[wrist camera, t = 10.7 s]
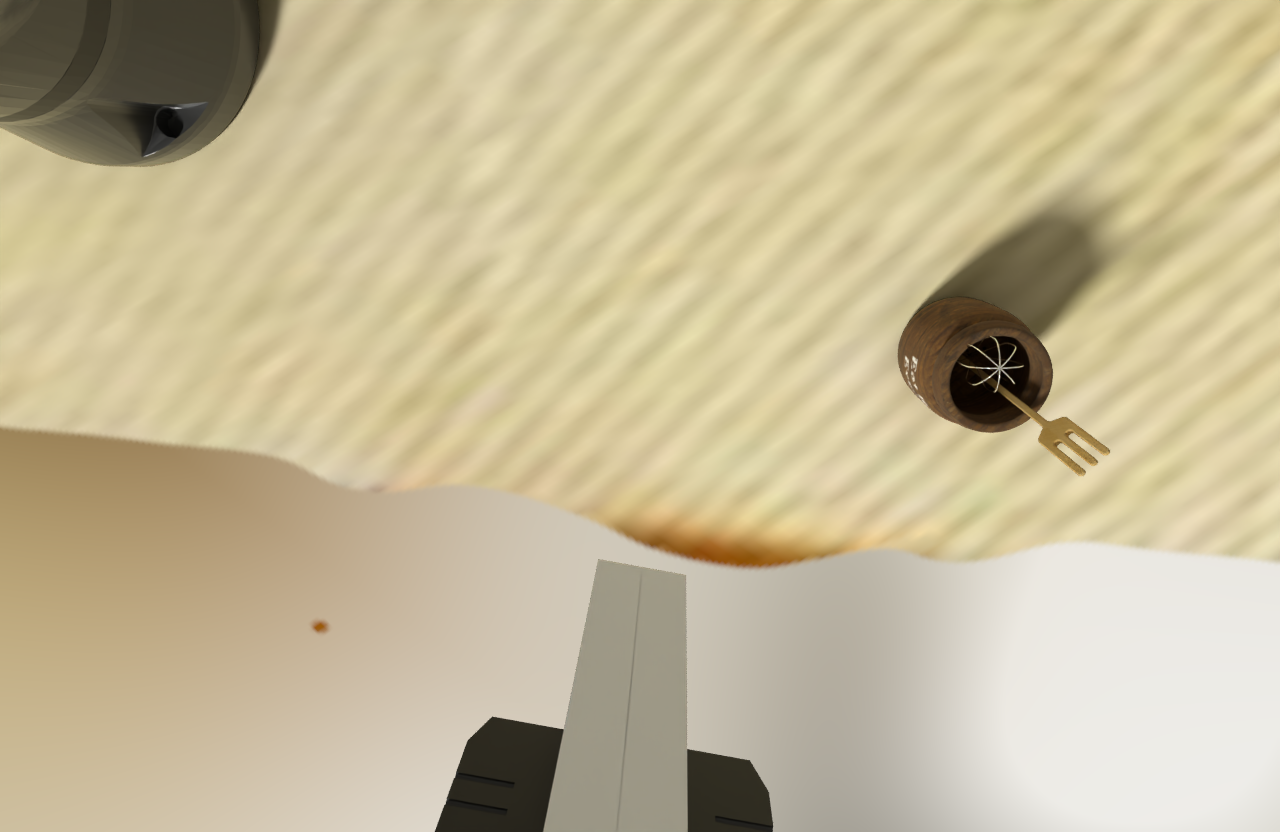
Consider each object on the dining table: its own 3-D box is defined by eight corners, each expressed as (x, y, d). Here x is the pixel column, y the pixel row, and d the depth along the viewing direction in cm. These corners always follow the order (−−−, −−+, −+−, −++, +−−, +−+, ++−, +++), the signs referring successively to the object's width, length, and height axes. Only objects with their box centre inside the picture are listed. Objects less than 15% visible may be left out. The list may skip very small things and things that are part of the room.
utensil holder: (953, 270, 43) (1049, 305, 31) (1034, 350, 44) (1157, 413, 32) (870, 351, 44) (933, 415, 33) (950, 427, 45) (1039, 514, 34)
